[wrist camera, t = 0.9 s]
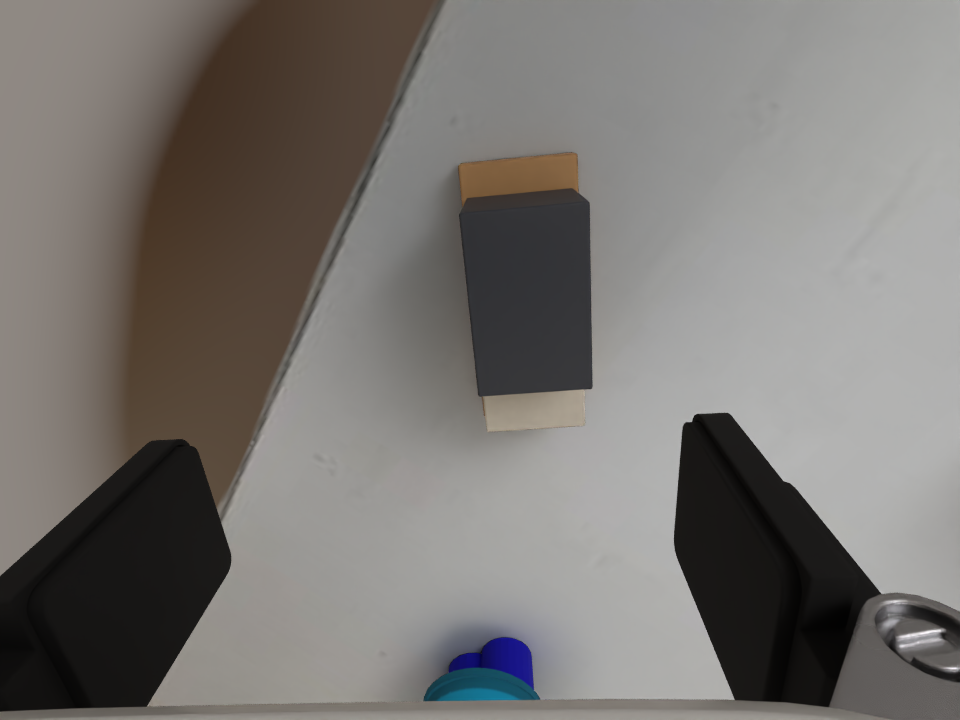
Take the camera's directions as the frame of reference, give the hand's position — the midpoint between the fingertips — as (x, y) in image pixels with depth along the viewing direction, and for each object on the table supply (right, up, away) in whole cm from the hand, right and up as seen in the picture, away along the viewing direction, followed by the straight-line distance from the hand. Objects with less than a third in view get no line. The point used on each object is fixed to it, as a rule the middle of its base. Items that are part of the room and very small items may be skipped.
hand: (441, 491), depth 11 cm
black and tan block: (+3, +6, +15) cm, 16 cm away
